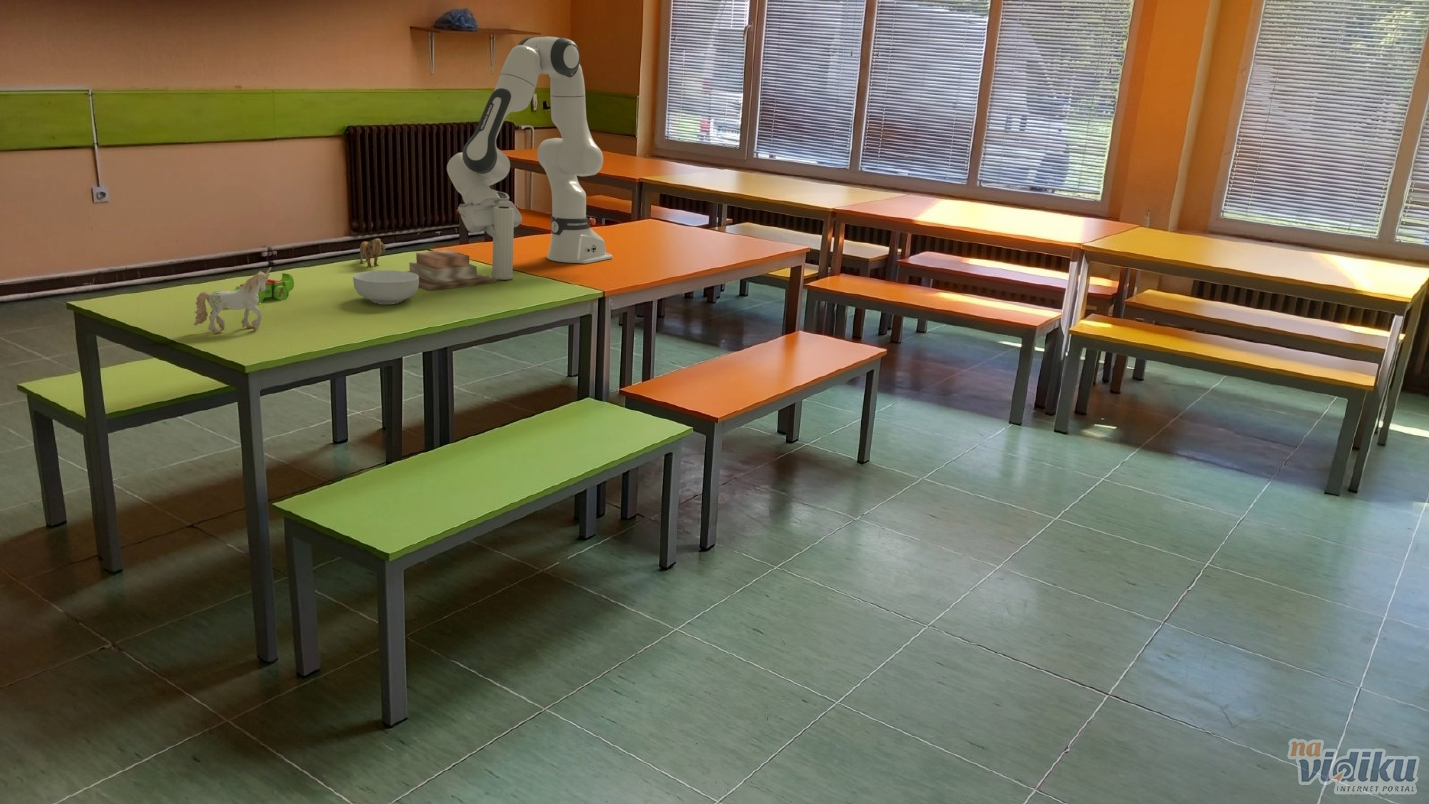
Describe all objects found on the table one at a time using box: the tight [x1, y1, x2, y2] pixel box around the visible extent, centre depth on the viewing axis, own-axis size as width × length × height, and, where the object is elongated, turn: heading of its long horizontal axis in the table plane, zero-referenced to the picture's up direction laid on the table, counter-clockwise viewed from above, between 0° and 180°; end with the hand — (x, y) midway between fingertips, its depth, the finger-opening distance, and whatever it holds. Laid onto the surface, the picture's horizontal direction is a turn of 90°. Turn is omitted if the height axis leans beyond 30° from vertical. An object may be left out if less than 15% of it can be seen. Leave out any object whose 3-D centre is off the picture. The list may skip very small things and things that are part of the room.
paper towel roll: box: [491, 206, 515, 281], centre depth 314 cm, size 7×6×21 cm
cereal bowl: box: [352, 269, 419, 305], centre depth 282 cm, size 17×17×7 cm
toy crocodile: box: [231, 272, 295, 305], centre depth 275 cm, size 20×7×6 cm, turn 148°
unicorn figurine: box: [193, 267, 272, 335], centre depth 246 cm, size 7×20×13 cm, turn 137°
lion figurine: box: [357, 238, 388, 268], centre depth 324 cm, size 15×5×9 cm, turn 46°
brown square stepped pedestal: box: [406, 249, 497, 291], centre depth 311 cm, size 22×22×8 cm
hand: (505, 239), depth 313 cm, fingers closed on paper towel roll, 3 cm apart
